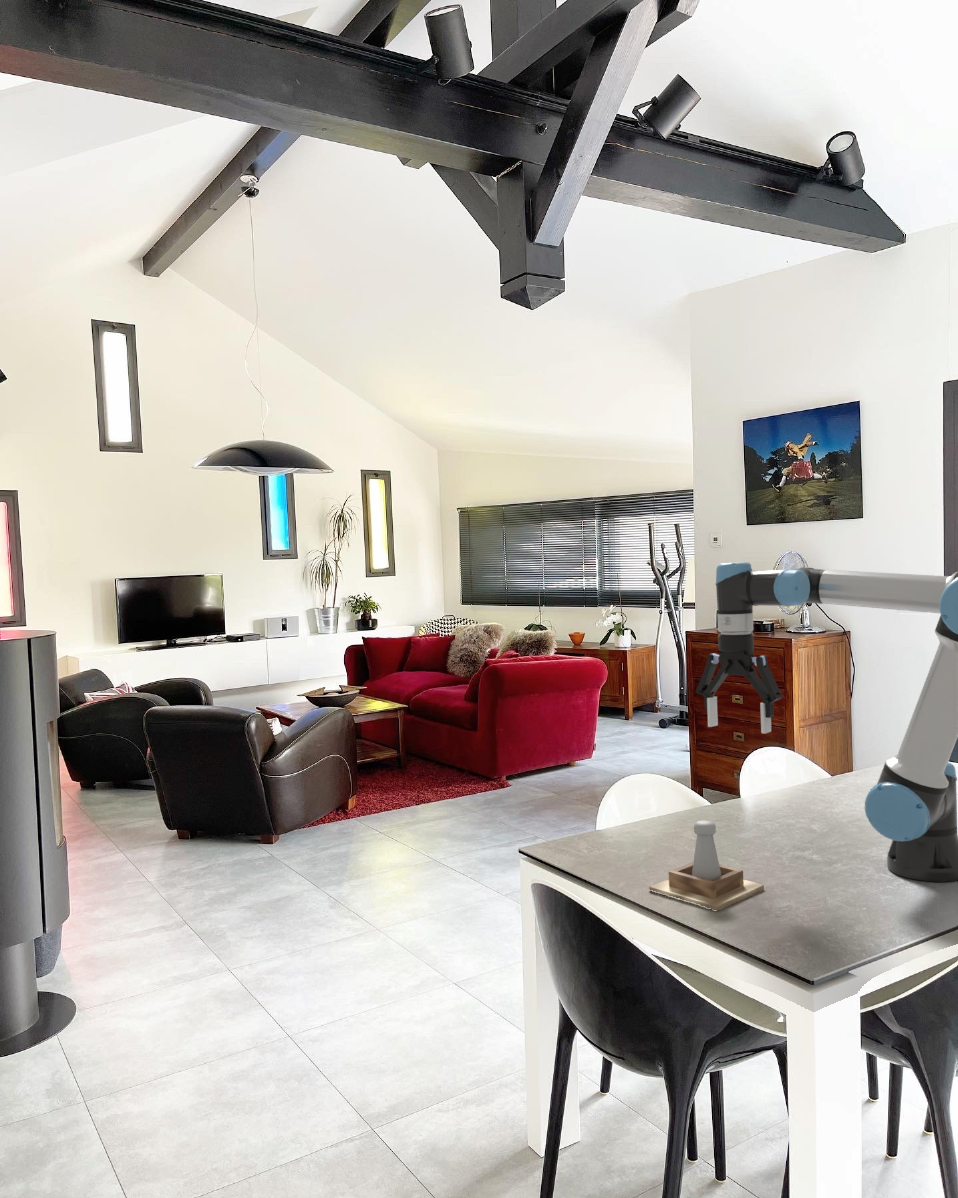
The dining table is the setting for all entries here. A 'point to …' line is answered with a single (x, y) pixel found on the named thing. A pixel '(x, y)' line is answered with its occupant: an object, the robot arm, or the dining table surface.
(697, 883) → the collar board
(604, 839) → the dining table surface
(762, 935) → the dining table surface
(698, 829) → the salt shaker
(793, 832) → the dining table surface
